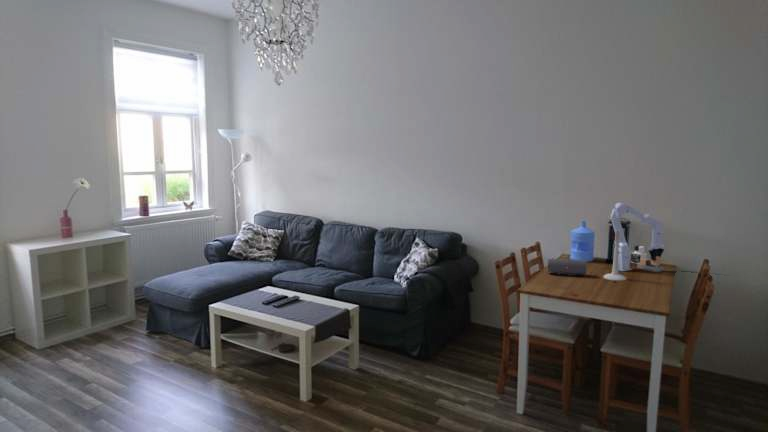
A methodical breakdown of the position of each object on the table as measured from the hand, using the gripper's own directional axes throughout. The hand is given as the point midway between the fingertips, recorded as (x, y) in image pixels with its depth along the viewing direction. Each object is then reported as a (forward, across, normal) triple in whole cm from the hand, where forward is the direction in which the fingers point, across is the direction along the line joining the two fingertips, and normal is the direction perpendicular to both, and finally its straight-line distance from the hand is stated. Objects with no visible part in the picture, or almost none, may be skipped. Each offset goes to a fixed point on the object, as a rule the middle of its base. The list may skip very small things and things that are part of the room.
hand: (655, 260), depth 320 cm
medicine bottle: (+7, +12, +19) cm, 24 cm away
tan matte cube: (+3, 0, 0) cm, 3 cm away
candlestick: (+7, -40, 0) cm, 40 cm away
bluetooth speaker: (+7, -58, +22) cm, 62 cm away
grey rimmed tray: (+7, 0, +3) cm, 8 cm away
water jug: (+7, -14, +46) cm, 49 cm away
